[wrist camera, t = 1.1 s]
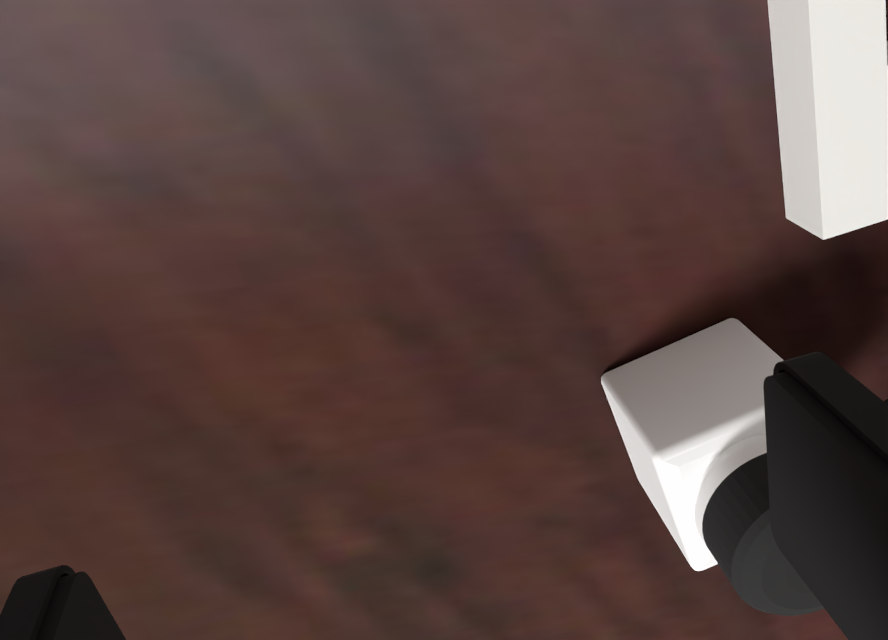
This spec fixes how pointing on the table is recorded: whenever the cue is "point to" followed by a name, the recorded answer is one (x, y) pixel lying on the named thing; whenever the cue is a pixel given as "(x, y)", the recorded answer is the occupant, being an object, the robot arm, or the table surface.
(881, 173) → the white slotted board
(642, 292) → the table surface
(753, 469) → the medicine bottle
